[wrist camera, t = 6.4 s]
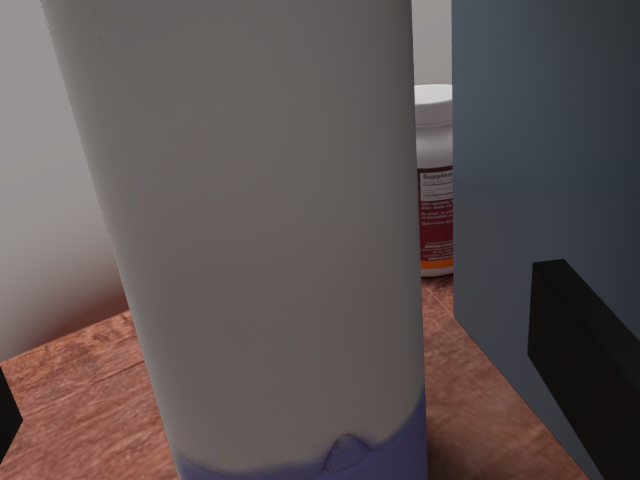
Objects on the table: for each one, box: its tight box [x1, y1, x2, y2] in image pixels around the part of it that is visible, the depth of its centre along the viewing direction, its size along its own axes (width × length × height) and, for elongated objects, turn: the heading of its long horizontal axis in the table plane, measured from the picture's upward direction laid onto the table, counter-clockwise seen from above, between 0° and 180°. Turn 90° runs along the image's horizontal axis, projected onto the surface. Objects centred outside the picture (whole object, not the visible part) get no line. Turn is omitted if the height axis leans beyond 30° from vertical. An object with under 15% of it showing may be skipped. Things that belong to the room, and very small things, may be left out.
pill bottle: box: [414, 84, 453, 277], centre depth 38 cm, size 6×6×11 cm
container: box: [40, 0, 428, 480], centre depth 21 cm, size 10×10×20 cm
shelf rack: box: [452, 0, 640, 480], centre depth 21 cm, size 18×16×24 cm
